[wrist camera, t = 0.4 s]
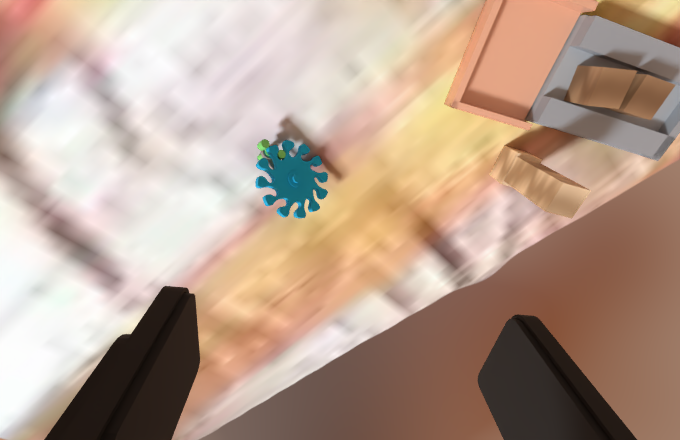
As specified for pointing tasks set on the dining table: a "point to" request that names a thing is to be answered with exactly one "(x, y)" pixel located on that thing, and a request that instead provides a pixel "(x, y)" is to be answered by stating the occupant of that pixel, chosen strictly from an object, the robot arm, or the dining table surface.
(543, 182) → the pale wooden block
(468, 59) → the tray
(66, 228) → the dining table surface
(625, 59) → the slot board
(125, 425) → the robot arm
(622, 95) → the walnut cube
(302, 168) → the teal virus model
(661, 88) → the walnut cube
